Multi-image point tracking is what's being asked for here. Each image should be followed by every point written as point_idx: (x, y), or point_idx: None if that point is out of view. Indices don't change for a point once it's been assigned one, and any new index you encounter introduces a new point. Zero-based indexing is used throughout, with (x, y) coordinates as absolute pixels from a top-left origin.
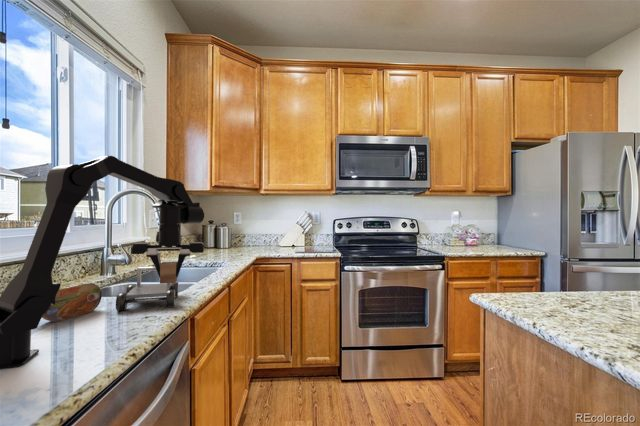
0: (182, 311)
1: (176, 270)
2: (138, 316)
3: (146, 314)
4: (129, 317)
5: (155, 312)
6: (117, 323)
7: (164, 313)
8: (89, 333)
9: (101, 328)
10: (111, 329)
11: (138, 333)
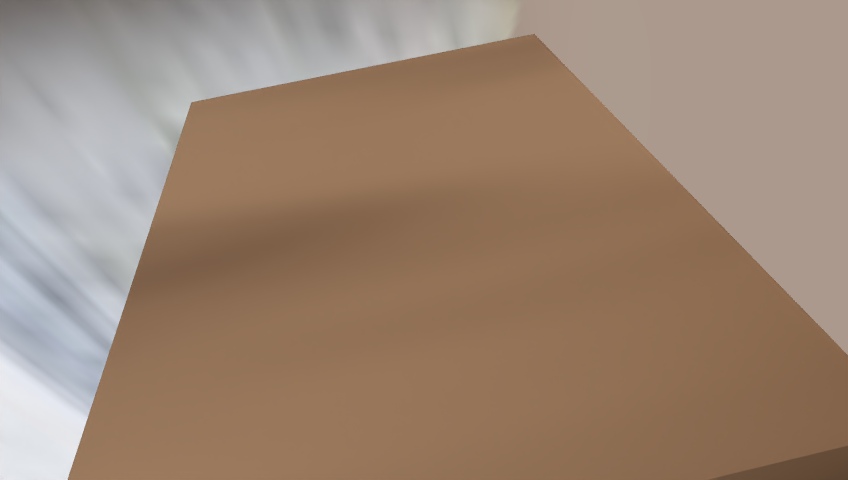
0: (501, 19)
1: None
2: (99, 146)
3: (144, 88)
4: (23, 169)
5: (209, 23)
6: (42, 302)
7: (329, 71)
8: (6, 441)
9: (6, 380)
10: None
11: None
